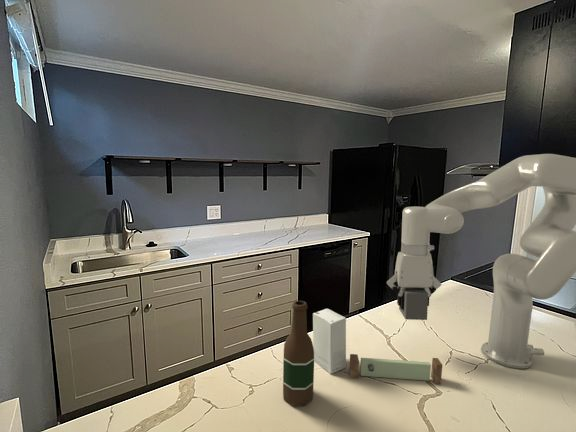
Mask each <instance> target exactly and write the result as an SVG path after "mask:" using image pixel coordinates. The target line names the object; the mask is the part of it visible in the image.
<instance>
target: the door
mask: <svg viewBox="0 0 576 432" xmlns="http://www.w3.org/2000/svg"><path fill="white" fill-rule="evenodd" d="M359 365H360V366H359V368H360V369H359V373H360V374H359V375H360V376H363V377H372V378H373V377H374V378H375V377H376V378H387V379H389V378H390V379H402V380H417V381H427V382H428V381H430V379H431V370H432V363H430V362H428V361H417V360H415V361H414V360H401V359H390V358H389V359H385V358H369V357H360V363H359Z"/></svg>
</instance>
